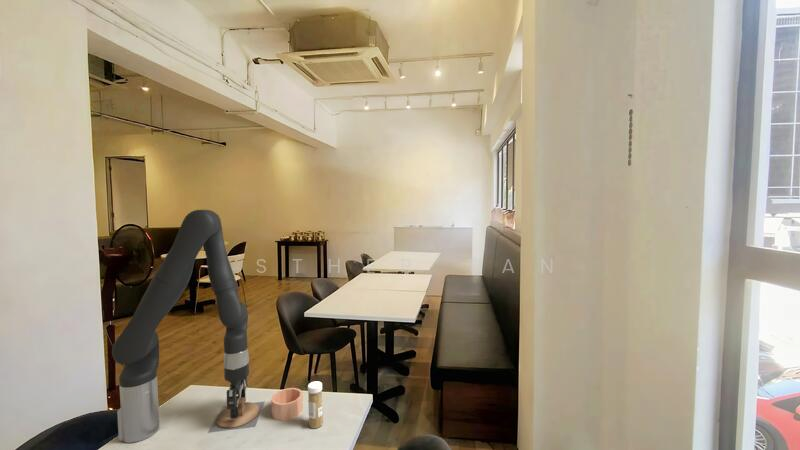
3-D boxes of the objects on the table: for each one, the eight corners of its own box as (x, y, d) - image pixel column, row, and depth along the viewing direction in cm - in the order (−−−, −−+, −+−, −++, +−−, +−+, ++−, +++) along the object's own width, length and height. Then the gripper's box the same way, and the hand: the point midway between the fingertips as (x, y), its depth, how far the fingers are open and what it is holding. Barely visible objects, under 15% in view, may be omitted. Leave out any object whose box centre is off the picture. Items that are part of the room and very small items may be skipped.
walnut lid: (210, 431, 103) (209, 414, 103) (224, 406, 116) (223, 392, 115) (254, 425, 105) (253, 409, 105) (263, 402, 118) (262, 388, 118)
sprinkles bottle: (325, 425, 106) (324, 385, 105) (311, 431, 103) (310, 389, 103) (320, 418, 110) (319, 379, 109) (306, 423, 107) (305, 383, 106)
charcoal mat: (207, 434, 102) (207, 432, 102) (223, 407, 116) (223, 406, 116) (255, 428, 105) (255, 426, 105) (264, 403, 119) (264, 401, 119)
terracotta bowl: (269, 424, 107) (268, 406, 107) (275, 406, 117) (274, 389, 117) (301, 420, 109) (300, 402, 109) (304, 402, 119) (303, 386, 118)
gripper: (231, 354, 116) (233, 399, 117) (216, 374, 102) (218, 425, 103) (253, 352, 117) (255, 396, 118) (242, 372, 103) (244, 421, 104)
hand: (238, 409), depth 110 cm, fingers open, 8 cm apart
